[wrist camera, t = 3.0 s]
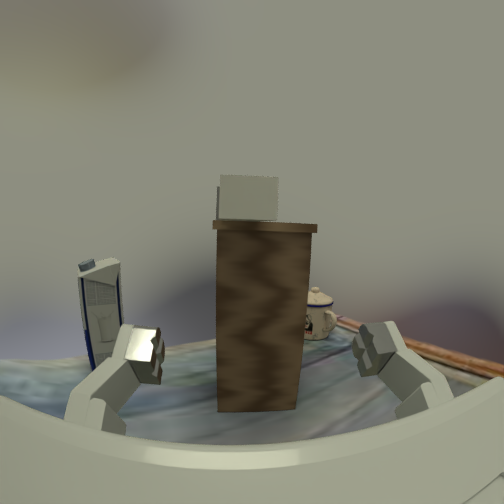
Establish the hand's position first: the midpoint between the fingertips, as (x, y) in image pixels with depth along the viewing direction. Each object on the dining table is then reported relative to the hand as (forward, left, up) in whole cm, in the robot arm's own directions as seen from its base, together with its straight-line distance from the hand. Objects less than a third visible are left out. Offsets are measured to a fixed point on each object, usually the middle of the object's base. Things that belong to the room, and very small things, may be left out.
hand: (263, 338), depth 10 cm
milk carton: (-22, +30, -22) cm, 43 cm away
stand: (+3, +28, -21) cm, 36 cm away
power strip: (0, +22, +5) cm, 22 cm away
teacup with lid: (+20, +49, -22) cm, 57 cm away
